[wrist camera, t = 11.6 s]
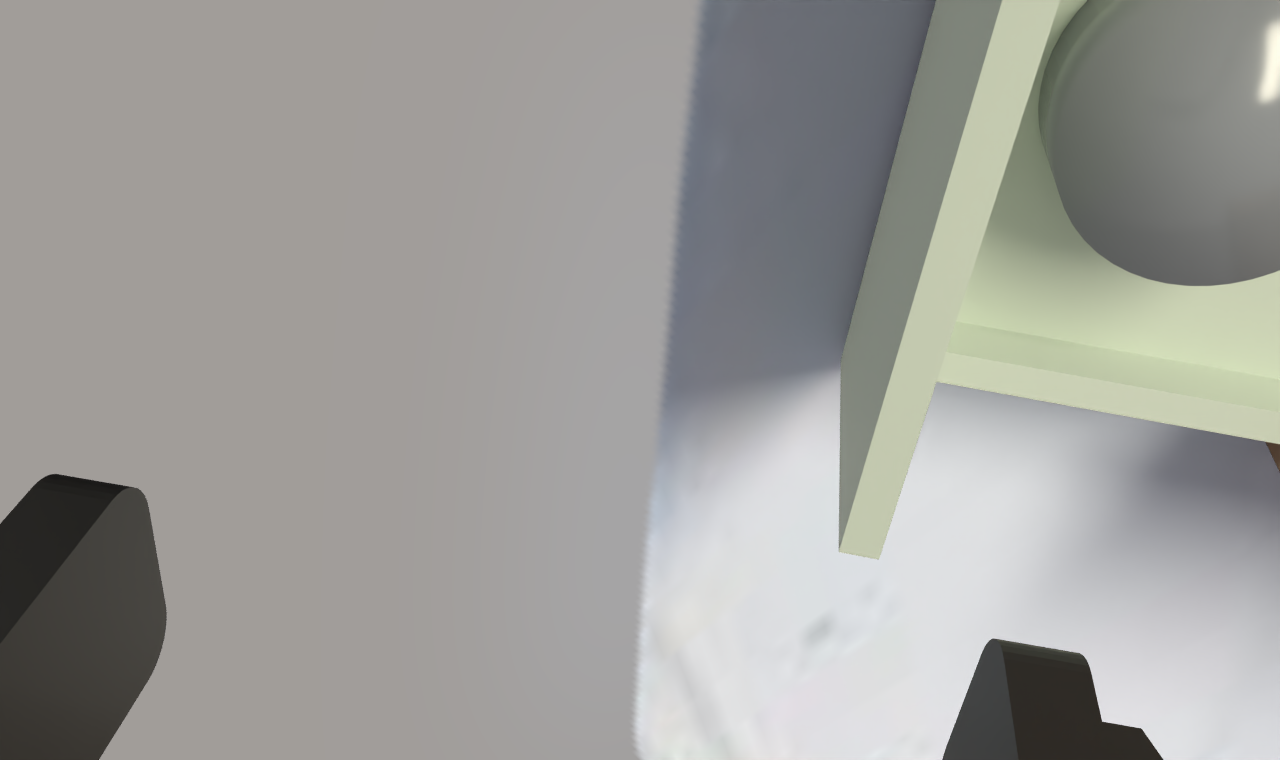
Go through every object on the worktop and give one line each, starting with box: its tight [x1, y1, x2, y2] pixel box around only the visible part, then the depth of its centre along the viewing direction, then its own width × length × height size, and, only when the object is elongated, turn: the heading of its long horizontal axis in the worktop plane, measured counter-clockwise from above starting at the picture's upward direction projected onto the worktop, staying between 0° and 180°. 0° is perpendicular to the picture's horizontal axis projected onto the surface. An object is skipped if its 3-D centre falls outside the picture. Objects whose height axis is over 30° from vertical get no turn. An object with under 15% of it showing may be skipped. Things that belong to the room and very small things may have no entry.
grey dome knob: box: [1038, 0, 1280, 286], centre depth 23 cm, size 6×6×2 cm
